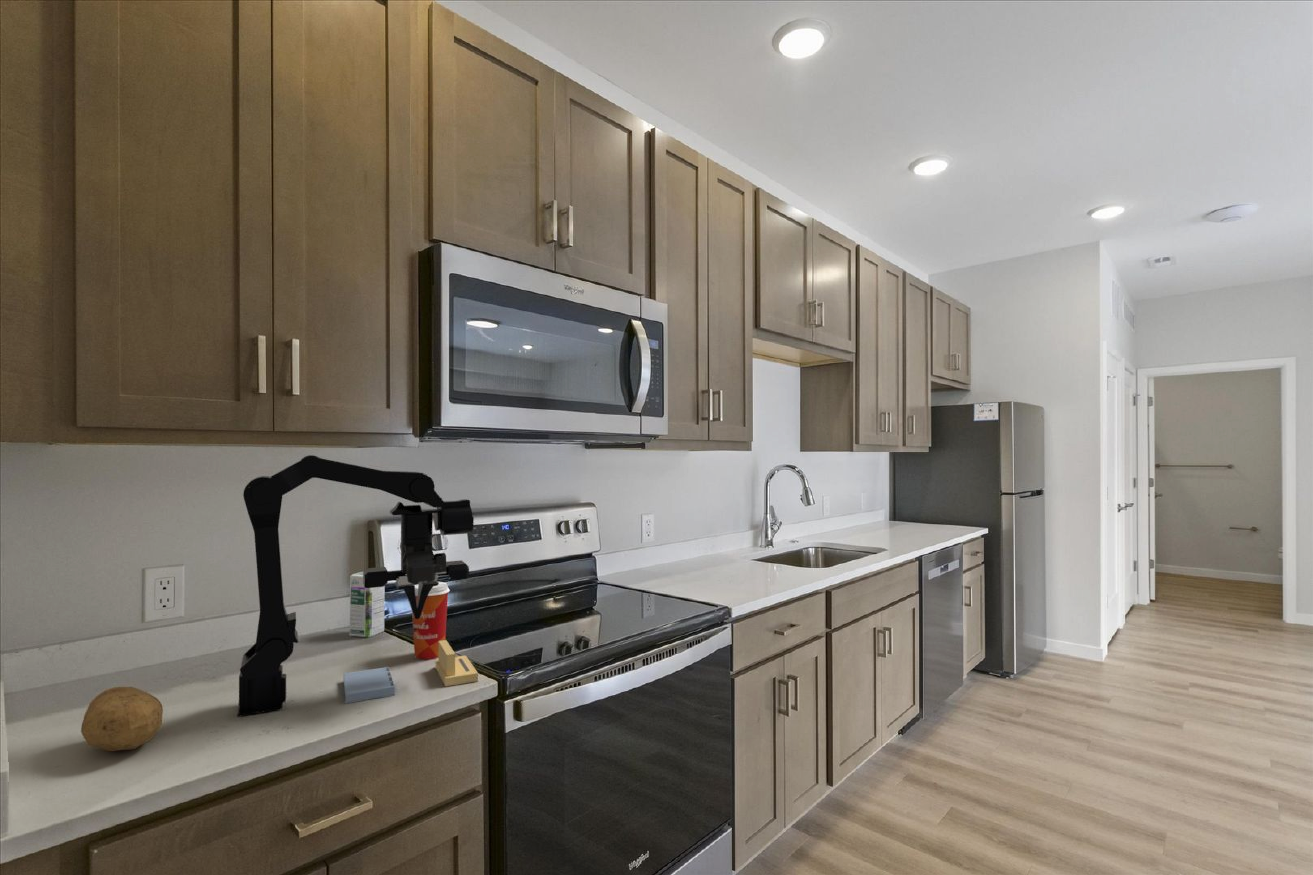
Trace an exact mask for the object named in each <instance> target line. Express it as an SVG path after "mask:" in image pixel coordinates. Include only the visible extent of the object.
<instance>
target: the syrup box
mask: <svg viewBox="0 0 1313 875" xmlns="http://www.w3.org/2000/svg"><path fill="white" fill-rule="evenodd" d="M363 572H364V571H359V572H356V573H353V574H351V575H350V576H349V632H348V633H349V637H360V638H371V637H374V636H375V635H376V636H377V635H378V634H380V633H383V632H385V588H386V587H385V585H386V584H385V585H384V586H383V587H375V588H364V584H363Z"/></svg>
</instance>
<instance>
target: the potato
mask: <svg viewBox="0 0 1313 875" xmlns="http://www.w3.org/2000/svg"><path fill="white" fill-rule="evenodd" d="M163 713H164V709H163V705H162V703H161V701H160V699H158V698H157V697H156V696H154V695H153V694H151V693H149V692H147V691H144V690H142V689H140V688H136V687H133V686H117V687H112V688H111V687H110V688H108V689H105V690H104V691H102V692H101V693H99V694H98V695H97V696H95V697H94V699H92V701H91V702H89V705H88V706H87V709H86V712H85V713H84V715H83V720H82V722H81V728H80V729H81V730H80V733H81V735H82V737H83V738H84V740H85V743H86V744H87V745H89V746H91V747H94V748H97V749H100V750H103V751H106V752H116V751H127V750H128V751H129V750H131V751H132V750H136V749H137V748H139V747H140V746H142V745H144V744H145V743H147V742H148V741H150V740H151V739H153V737H154V736H155V735H156V733H157V732H158V730H160V728H161V727H162V725H163Z"/></svg>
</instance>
